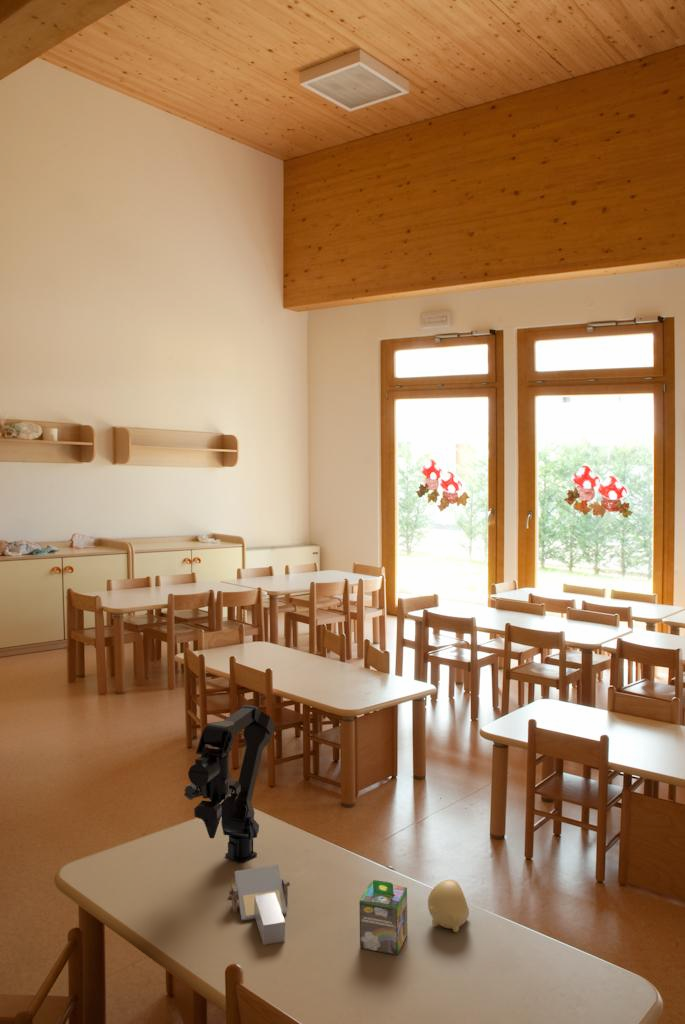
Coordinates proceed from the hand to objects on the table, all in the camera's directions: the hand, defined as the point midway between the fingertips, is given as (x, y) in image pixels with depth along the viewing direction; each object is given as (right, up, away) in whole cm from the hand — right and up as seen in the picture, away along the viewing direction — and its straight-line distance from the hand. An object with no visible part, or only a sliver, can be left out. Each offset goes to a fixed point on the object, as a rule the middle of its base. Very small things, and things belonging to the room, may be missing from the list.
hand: (218, 830), depth 220 cm
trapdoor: (+12, -13, -11) cm, 21 cm away
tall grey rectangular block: (+14, -11, -18) cm, 25 cm away
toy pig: (+58, -15, -20) cm, 63 cm away
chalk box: (+42, -16, -27) cm, 52 cm away
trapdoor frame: (+11, -14, -10) cm, 20 cm away
